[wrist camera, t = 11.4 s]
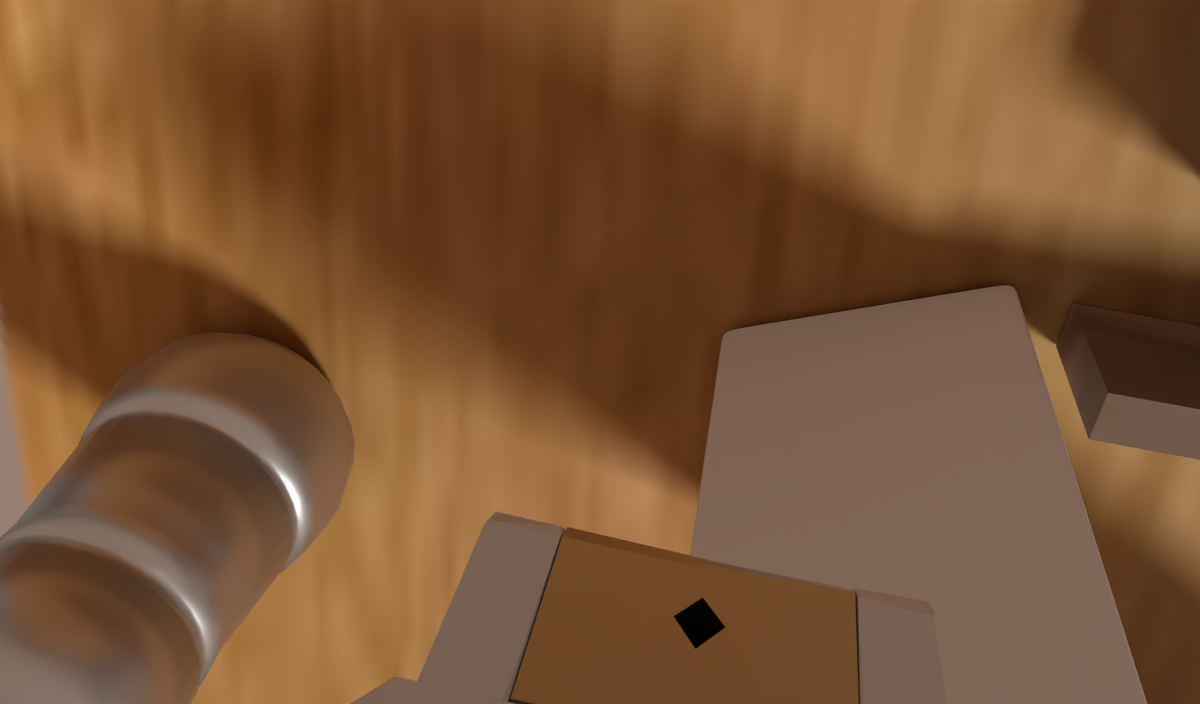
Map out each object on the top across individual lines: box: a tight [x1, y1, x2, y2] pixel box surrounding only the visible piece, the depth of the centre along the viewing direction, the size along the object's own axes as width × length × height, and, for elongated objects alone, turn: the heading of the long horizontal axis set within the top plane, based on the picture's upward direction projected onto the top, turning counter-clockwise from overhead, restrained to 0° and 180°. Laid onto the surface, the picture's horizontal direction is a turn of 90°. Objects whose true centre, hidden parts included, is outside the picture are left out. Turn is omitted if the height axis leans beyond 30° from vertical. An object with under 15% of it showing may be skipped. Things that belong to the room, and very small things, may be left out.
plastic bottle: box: [0, 332, 355, 704], centre depth 24 cm, size 6×7×20 cm
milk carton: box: [690, 285, 1147, 704], centre depth 22 cm, size 7×7×19 cm
